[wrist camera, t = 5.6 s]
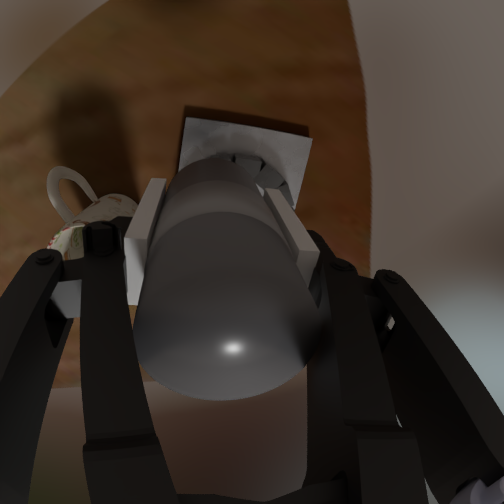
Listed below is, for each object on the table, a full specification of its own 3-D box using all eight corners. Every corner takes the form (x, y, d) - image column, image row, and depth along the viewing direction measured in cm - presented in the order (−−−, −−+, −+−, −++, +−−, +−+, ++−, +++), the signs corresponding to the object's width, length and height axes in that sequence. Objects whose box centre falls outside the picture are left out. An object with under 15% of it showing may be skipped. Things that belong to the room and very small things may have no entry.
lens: (162, 244, 17) (138, 397, 9) (167, 152, 15) (123, 256, 6) (252, 250, 18) (296, 398, 10) (268, 163, 16) (348, 270, 7)
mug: (112, 267, 34) (90, 327, 25) (43, 180, 27) (-5, 220, 19) (170, 230, 33) (161, 287, 24) (100, 131, 26) (59, 155, 18)
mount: (169, 264, 35) (167, 279, 32) (186, 116, 27) (185, 119, 25) (274, 273, 37) (279, 288, 35) (309, 137, 30) (319, 142, 27)
